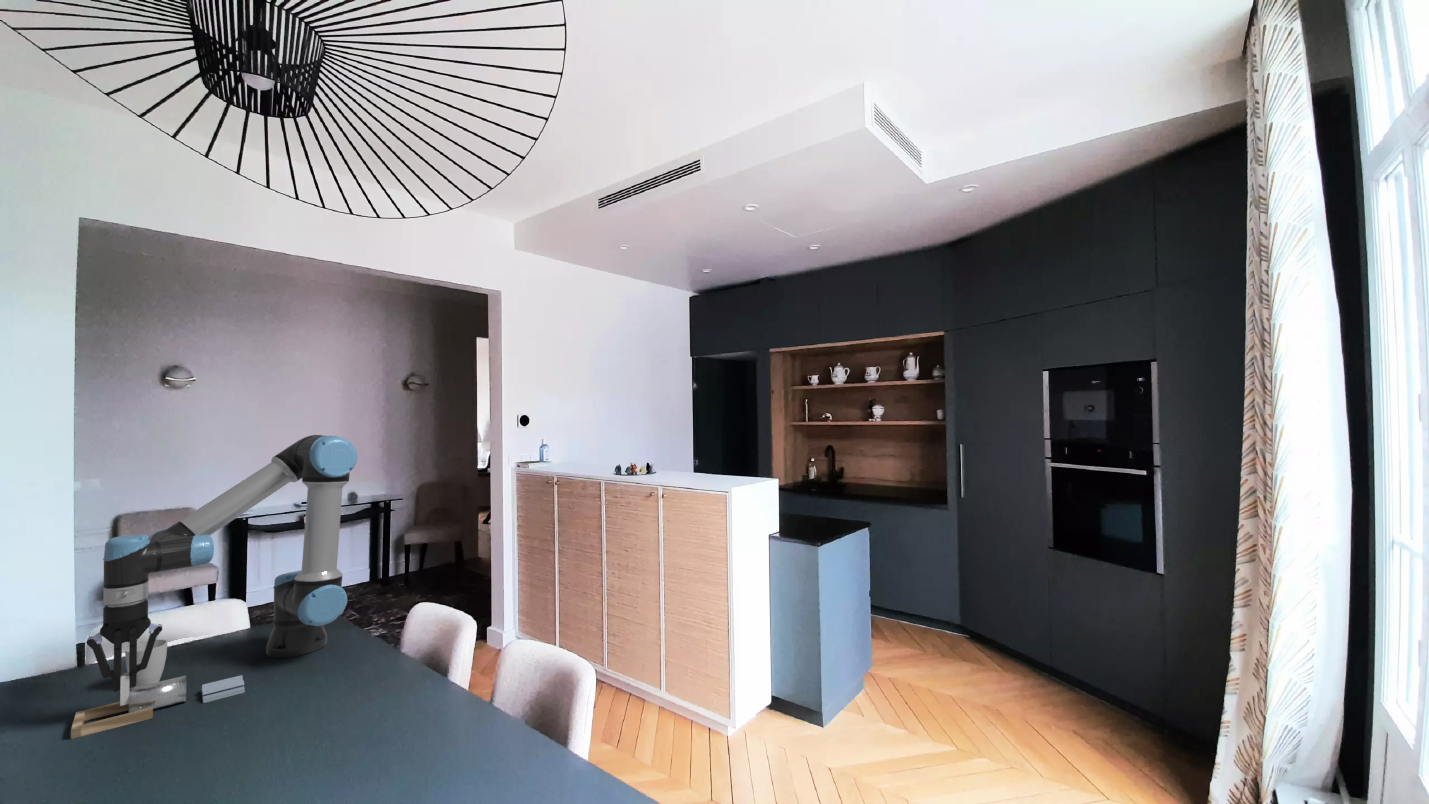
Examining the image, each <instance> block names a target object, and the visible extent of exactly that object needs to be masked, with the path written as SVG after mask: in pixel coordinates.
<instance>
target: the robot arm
mask: <svg viewBox="0 0 1429 804" xmlns="http://www.w3.org/2000/svg"><path fill="white" fill-rule="evenodd" d="M357 462H358V453H357V448H355V446H354V444H352V443H351V442H350V441H349V439H346V438H343V437H340V436H337V435H322V434H312V435H309V436H305V437H303V438H301V439H298V440H297V441H295V442H294V443H293V444H291V445H289V446H288V447H286V448H285V449H283V450H282V451H281V452H278V453H277V454H276V455H274V456H272V457H271V461H270V463H268V464H266V465H265V466H263V467H262V468H260V469H259V470H257V471H256V472H254V473H252V474H251V475H250V476H248V477H245V479H243V480H241V481H240V482H238V483H237V484H235V485H234V486H232V487H230V488H229V489H227V490H226V491H224V492H222V493H221V494H220V495H218V496H217V497H215V498H213V499H212V500H210V501H209V502H206V503H205V504H204V505H202V506H201V507H199V508H197V509H196V510H195V511H193V512H192V513H190V514H188V515H187V516H186V517H184V518H182V519H180V520H179V521H177V522H176V523H174V524H172V525H171V526H170V527H168V528H165V529H160V530H157V531H155V532H153V533H152V534H151V535H149V536H148V535H147V534H126V535H120V536H115V537H112V538H111V537H110V539H108V540H107V541H105V545H104V551H103V552H104V553H103V559H102V560H103V590H102V591H103V595H102V596H103V597H102V598H103V602H102V603H103V605H105V606H104V607H103V609H102V610H103V611H102V615H103V616H102V627H101V628H100V630H99V632H98V633H96V634H94V635H93V636H89V637H88V638H87V640H86V642H85V643H86V645H87V646H88V647H89V648H90V649H91V650H92V651H93V653H94V656H95V659H96V662H97V666H98V669H99V671H100V674H101V676H102V678H104V679H106V678H111V679H112V680H113V692H119V691H120V694H119V695H120V696H119V697H120V700H119V702H120V706H122V705H126V704H129V690H130V688H133V687H135V686H136V681H137V672H139V671H141V670H144V669H146V668H147V665H148V662H149V659H150V656H151V652H152V649H153V646H154V643H155V640H157V638H158V636H159V635H160V634H161V632H162V631H163V624H161V623H158V624H156V623H152V621H151V619H150V618H149V600H148V599H147V598H149V575H150V574H152V573H159V572H164V571H165V572H167V571H172V570H177V569H183V568H184V569H185V568H190V567H191V568H192V567H193V568H195V567H197V566H201V565H205V564H208V563H210V562H211V561H212V559H213V558H214V553H215V546H214V540H213V538H212V537H211V535H213V534H215V533H216V532H217V531H219V530H220V529H222V528H224V527H225V526H226V525H229V524H230V523H231V522H233V521H234V520H235V519H236V518H238V517H240V516H241V515H243V514H244V513H246V512H247V511H249V510H250V509H252V508H253V507H254V506H256V505H258V504H259V503H261V502H262V501H264V500H265V499H267V498H268V497H269V496H271V495H273V494H274V493H275V492H277V491H279V490H280V489H282V488H283V487H284V486H286V485H287V484H290V483H297V482H299V481H300V480H301V483H302V484H303V485H305V486H306V488H307V491H306V492H307V495H306V505H305V506H306V507H305V508H306V509H305V522H304V535H303V545H302V546H303V548H302V561H301V569H300V570H297V571H290V572H286V573H282V574H279V575H278V576H276V577H275V578H274V583H273V628H272V630H271V632H270V635H269V637H268V641H267V643H266V647H265V655H266V656H267V657H270V658H274V659H275V658H277V659H280V658H281V659H284V658H285V659H286V658H292V657H298V656H302V655H306V654H309V653H310V654H311V653H313V652H315V651H318V650H320V649H322V648H323V647H325V646H326V645H327V644H328V634H327V632H326V629H325V626H326V625H327V624H331V623H332V622H334V621H335V620H337V618H338V617H340V616H341V615H342V614H343V612H344V611H345V609H346V608H347V607H346V606H347V604H348V595H347V592H346V591H345V588H343V587H342V586H343V585H342V584H343V573H342V571H340V570H339V569H338V558H339V557H338V555H339V543H340V542H339V541H340V540H339V539H340V527H341V517H342V516H341V515H342V502H343V501H342V498H343V488H344V487H345V486H346V485H347V484H348V483H349V482H350V472H351V471H352V470H353V469H354V468H355V467H356V464H357ZM147 630H148V634H149V636H148V639H147V641H148V642H147V645H146V648H145V651H144V654H143V657H142V660H141V663H140V664H138V665H137V643H138V640H139V639H140V638H141V637H142V636H143V634H144V633H145V632H146V631H147ZM103 638H105V640H107V641H108V642H109V643H111V645H113V669H111V668H110V665H109V663H108V659H107V657H106V654H105V651H104V649H103V646H102V643H103ZM125 643H129V644H128V645H129V646H128V647H129V673H128V672H124V673H122V668H123V667H122V664H123V662H122V660H123V659H122V656H123V655H122V654H123V651H122V650H123V644H125Z"/></svg>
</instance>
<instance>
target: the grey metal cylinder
mask: <svg viewBox="0 0 1429 804" xmlns="http://www.w3.org/2000/svg"><path fill="white" fill-rule="evenodd" d="M186 701H187V675H181V676H178V677H173V678H169V679H165V680H161V681H160V680H159V682H155V683H151V684H147V685H142V686H138V687H133V688H130V690H129V710H128V713H131V712H135V711H140V710H144V709H148V708H152V707H153V710H156V709H160V708H164V707H167V706H171V705H176V704H180V703H183V702H186Z"/></svg>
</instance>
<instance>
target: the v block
mask: <svg viewBox="0 0 1429 804" xmlns="http://www.w3.org/2000/svg"><path fill="white" fill-rule="evenodd" d="M245 689H246V688H245V680H244V679H243V674H241V675H237V676H234V677H233V676H232V677H228V678H225V679H220V680H217V681H211V682H208V683H204V684H202V685H201V697H202V703H203V704H206V703H209V702H213V701H216V700H217V701H218V700H220V699H224V698H228V697H232V696H236V695H240V694H244V693H246V692H245Z"/></svg>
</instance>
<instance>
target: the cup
mask: <svg viewBox="0 0 1429 804" xmlns="http://www.w3.org/2000/svg"><path fill="white" fill-rule="evenodd" d="M147 642H148V640H147V641H141V642H137V665H138V664H140V663H141V660H142V657H143V654H144V651H145V648H146V645H147ZM168 644H169V643H168V640H167V639H156V640H155V643H154V646H153V649H152V652H151V656H150V659H149V662H148V665H147V668H146V669H144V670H141V671H139V672H137V681H136V686H135V687H138V686H142V685H147V684H151V683H155V682H160V680H161V677H162V675H163V672H164V669H165V665H166V660H167V654H168V653H167V651H168ZM124 652H125V653H124V654H125V655H124V657H125V666H126V671H127V672H126V673H129V646H128V647H126V648H125V650H124Z"/></svg>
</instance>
